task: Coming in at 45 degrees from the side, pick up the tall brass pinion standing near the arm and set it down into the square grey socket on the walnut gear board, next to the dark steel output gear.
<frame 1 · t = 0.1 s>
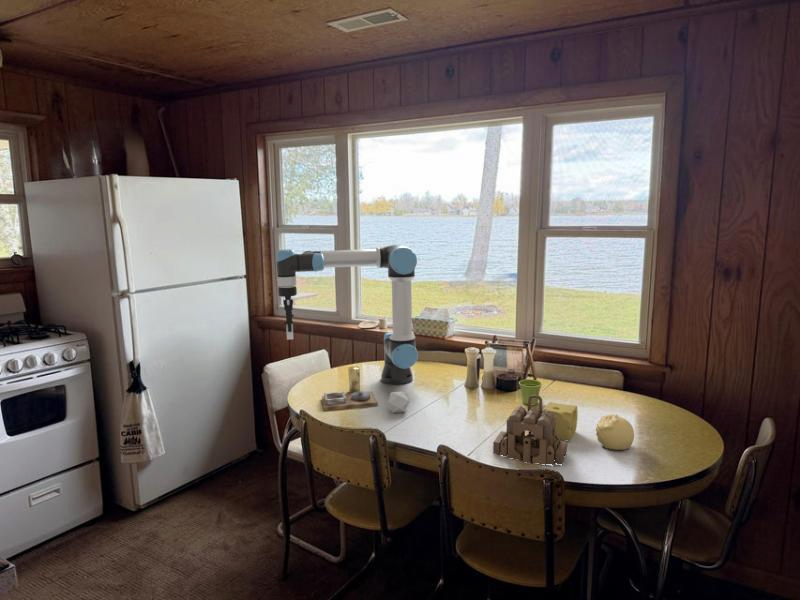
hand: (290, 335, 228), 28 cm above the table, tool pointing down, fingers open, 13 cm apart
sculpture: (614, 446, 181), on the table
wooden puzzle: (530, 454, 177), on the table
cheese: (558, 434, 192), on the table
gear board: (349, 402, 226), on the table
die: (398, 411, 216), on the table
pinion: (354, 391, 240), on the table
plant pot: (529, 403, 222), on the table
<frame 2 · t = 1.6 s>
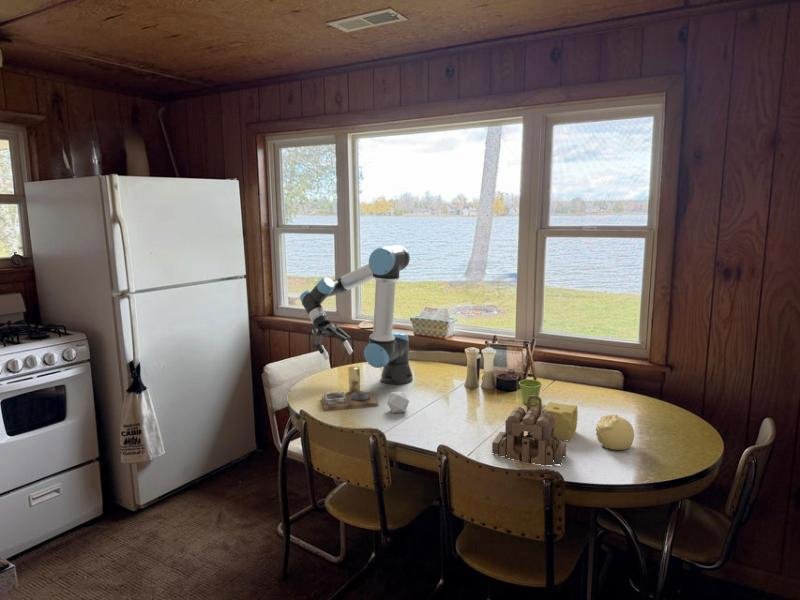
hand: (339, 355, 245), 15 cm above the table, tool tilted 45°, fingers open, 13 cm apart
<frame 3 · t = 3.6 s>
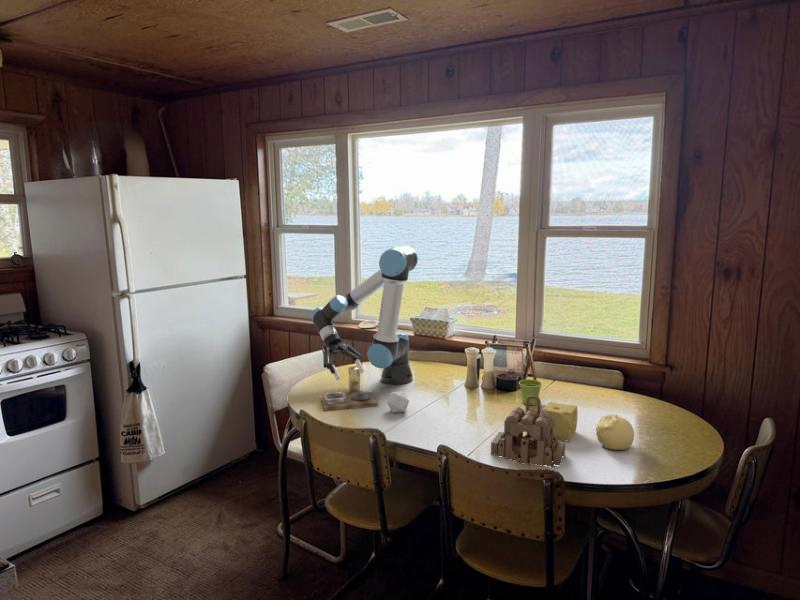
hand: (351, 375, 239), 7 cm above the table, tool tilted 45°, fingers open, 13 cm apart
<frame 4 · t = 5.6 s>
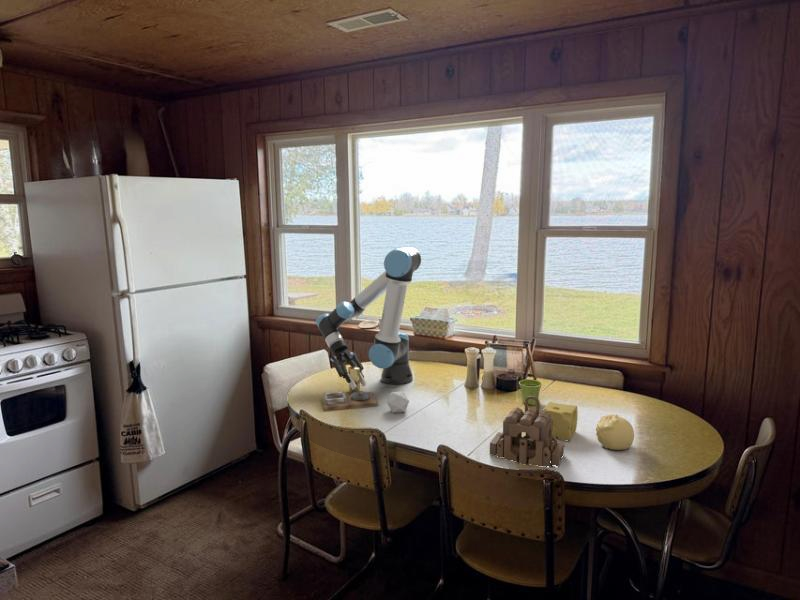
hand: (359, 386, 237), 3 cm above the table, tool tilted 45°, fingers closed on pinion, 5 cm apart
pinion: (354, 391, 240), on the table, touching gripper
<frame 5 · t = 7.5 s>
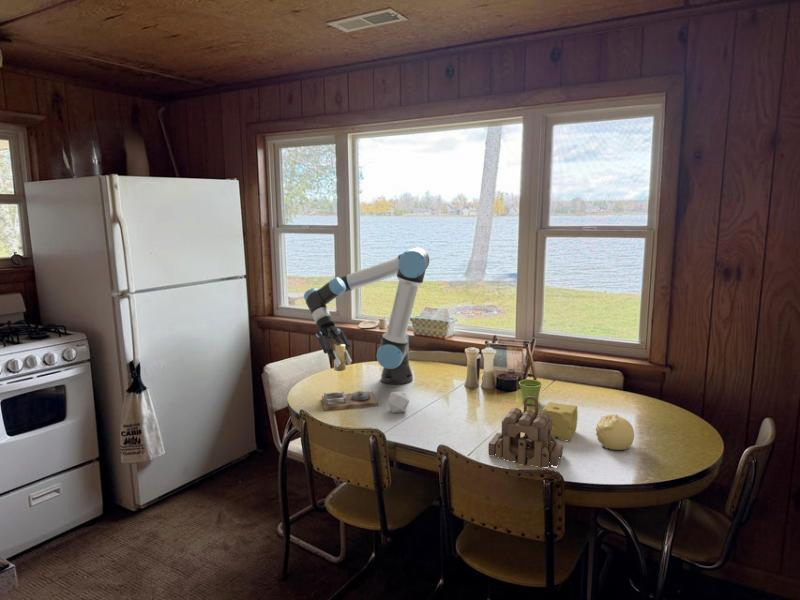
hand: (344, 363, 229), 15 cm above the table, tool tilted 45°, fingers closed on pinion, 5 cm apart
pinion: (339, 369, 232), point 12 cm above the table, touching gripper
when the fingers open (7 cm above the table, at t = 9.9 s): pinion drops 2 cm, resting on gear board.
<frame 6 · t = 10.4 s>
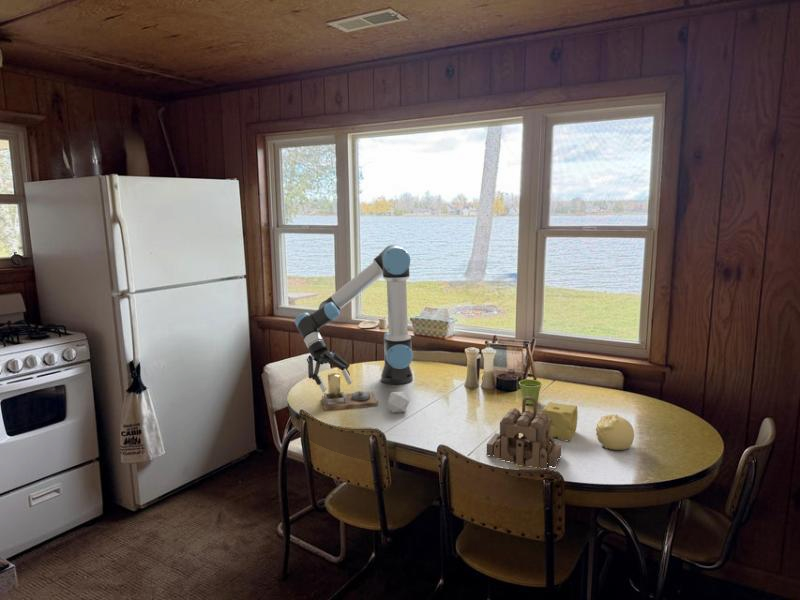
hand: (337, 386, 222), 8 cm above the table, tool tilted 45°, fingers open, 12 cm apart
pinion: (334, 400, 225), point 2 cm above the table, touching gear board
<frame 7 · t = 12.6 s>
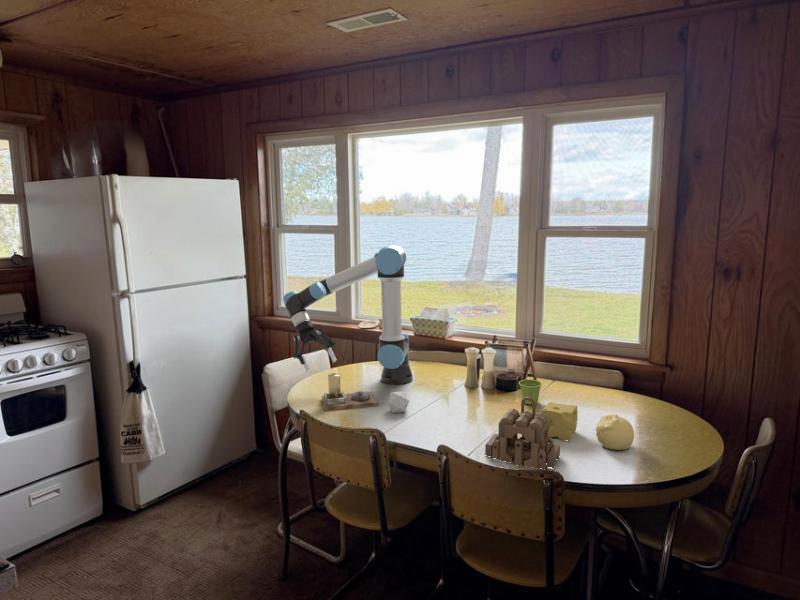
hand: (321, 365, 234), 13 cm above the table, tool tilted 35°, fingers open, 13 cm apart
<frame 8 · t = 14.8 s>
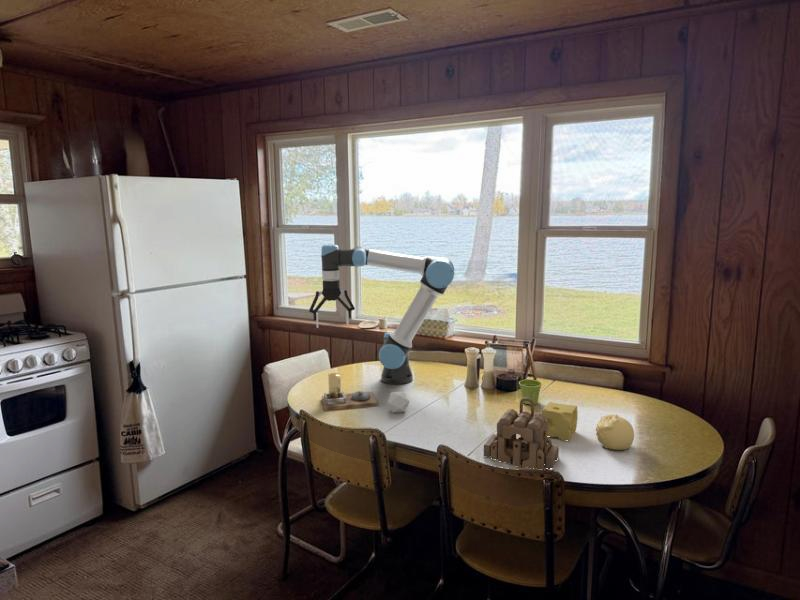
hand: (332, 326, 241), 29 cm above the table, tool pointing down, fingers open, 13 cm apart
at the end: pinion 0.1 cm from the target spot on the gear board, point 1.6 cm above the gear board's base; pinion tilted 1°; the gripper is holding nothing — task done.
